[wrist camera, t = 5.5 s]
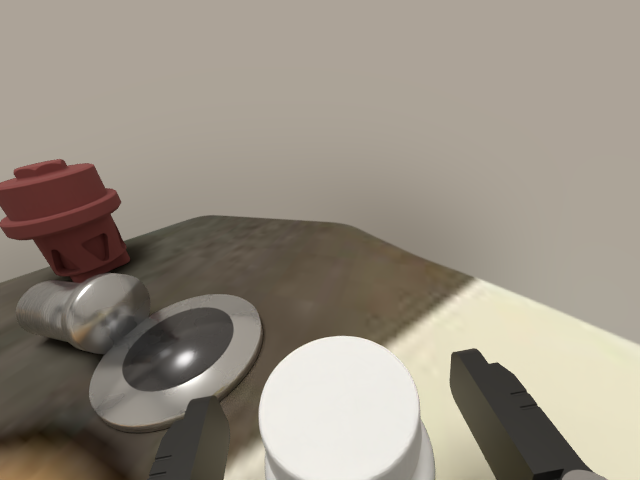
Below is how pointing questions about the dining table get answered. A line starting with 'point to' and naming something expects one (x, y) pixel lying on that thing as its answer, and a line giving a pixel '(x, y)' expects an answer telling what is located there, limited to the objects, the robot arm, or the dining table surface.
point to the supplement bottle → (343, 415)
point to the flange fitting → (146, 345)
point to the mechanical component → (65, 217)
